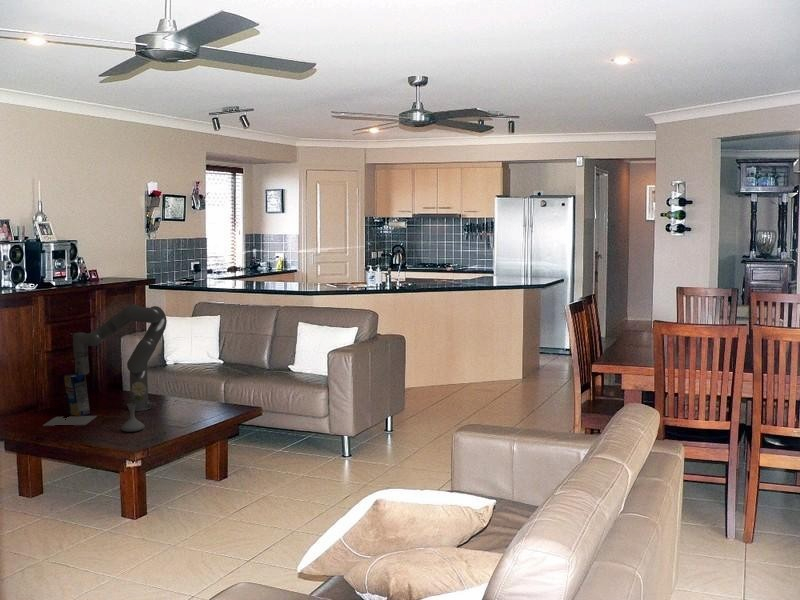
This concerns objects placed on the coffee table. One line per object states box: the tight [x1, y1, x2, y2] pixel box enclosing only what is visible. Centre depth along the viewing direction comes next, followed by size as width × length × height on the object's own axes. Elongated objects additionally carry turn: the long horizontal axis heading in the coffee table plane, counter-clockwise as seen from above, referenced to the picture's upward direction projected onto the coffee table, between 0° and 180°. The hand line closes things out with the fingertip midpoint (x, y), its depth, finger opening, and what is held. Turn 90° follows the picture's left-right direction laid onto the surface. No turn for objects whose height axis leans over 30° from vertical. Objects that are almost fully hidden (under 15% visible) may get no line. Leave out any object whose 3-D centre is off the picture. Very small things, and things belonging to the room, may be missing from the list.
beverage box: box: [63, 372, 91, 416], centre depth 463 cm, size 7×11×22 cm, turn 48°
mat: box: [42, 415, 98, 427], centre depth 449 cm, size 22×20×1 cm
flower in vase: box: [120, 382, 146, 433], centre depth 426 cm, size 13×11×25 cm
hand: (82, 387), depth 469 cm, fingers closed
